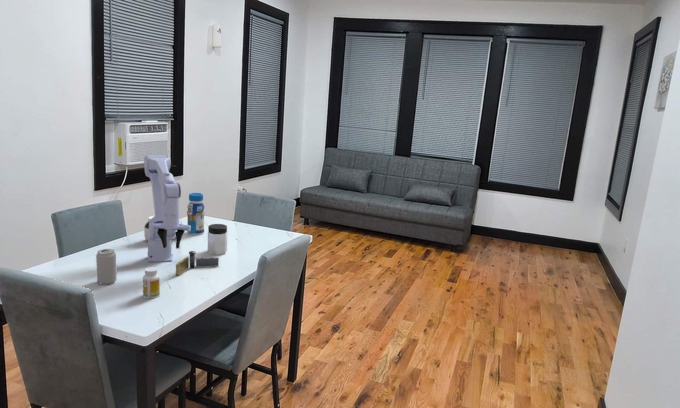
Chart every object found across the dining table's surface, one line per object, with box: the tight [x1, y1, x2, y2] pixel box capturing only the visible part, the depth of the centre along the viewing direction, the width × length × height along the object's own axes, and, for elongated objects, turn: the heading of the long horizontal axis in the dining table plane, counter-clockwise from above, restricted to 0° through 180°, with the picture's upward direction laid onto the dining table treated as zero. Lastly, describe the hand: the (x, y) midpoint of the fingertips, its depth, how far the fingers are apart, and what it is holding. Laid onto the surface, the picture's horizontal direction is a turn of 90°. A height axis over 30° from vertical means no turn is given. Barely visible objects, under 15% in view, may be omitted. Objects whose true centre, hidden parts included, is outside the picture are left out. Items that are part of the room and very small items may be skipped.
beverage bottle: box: [186, 192, 206, 236], centre depth 241 cm, size 8×8×20 cm
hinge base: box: [188, 250, 220, 269], centre depth 198 cm, size 12×3×7 cm, turn 107°
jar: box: [207, 223, 228, 256], centre depth 217 cm, size 9×8×12 cm
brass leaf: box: [175, 256, 190, 276], centre depth 191 cm, size 9×1×5 cm, turn 172°
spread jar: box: [143, 215, 176, 242], centre depth 226 cm, size 12×11×12 cm
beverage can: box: [95, 248, 117, 285], centre depth 176 cm, size 6×6×12 cm
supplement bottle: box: [142, 266, 161, 299], centre depth 168 cm, size 5×5×10 cm
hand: (171, 247), depth 190 cm, fingers open, 4 cm apart
